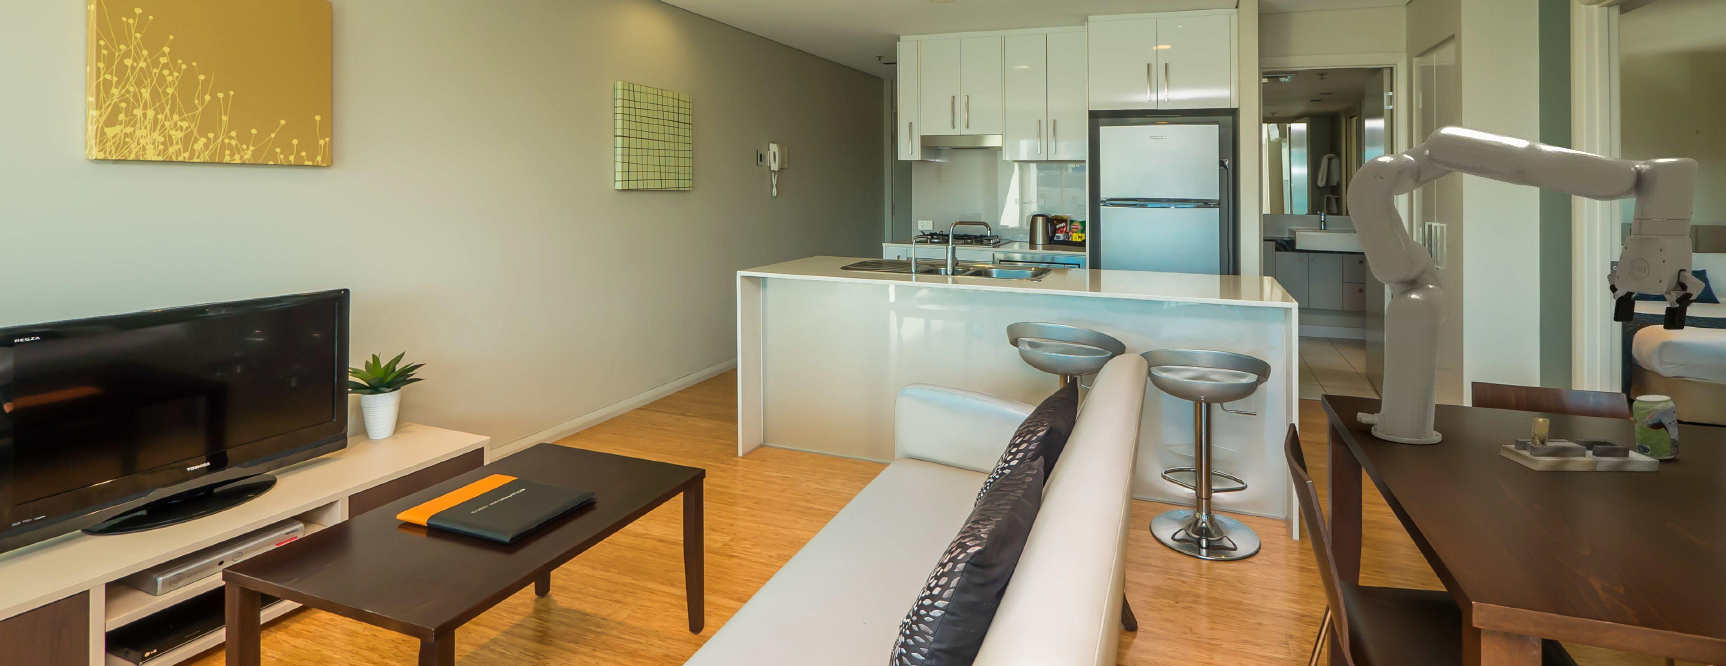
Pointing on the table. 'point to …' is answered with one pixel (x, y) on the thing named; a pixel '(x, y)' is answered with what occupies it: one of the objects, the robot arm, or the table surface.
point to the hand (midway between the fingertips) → (1647, 325)
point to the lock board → (1579, 456)
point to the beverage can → (1656, 426)
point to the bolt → (1543, 435)
